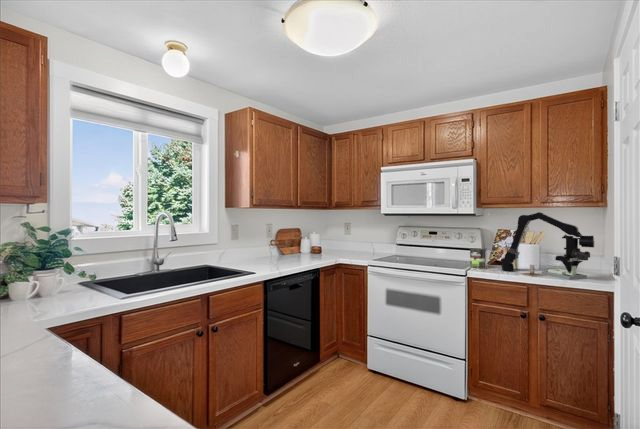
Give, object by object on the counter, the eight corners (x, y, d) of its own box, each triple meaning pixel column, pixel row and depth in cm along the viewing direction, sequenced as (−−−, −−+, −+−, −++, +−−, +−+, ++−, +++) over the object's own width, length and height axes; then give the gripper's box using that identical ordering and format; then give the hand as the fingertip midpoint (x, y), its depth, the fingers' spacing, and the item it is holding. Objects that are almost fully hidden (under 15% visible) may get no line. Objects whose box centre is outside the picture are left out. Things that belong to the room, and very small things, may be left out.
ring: (547, 272, 205) (547, 263, 205) (558, 271, 207) (558, 262, 207) (568, 275, 193) (568, 266, 192) (580, 275, 195) (580, 265, 195)
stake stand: (517, 275, 210) (517, 264, 210) (531, 274, 213) (531, 263, 213) (533, 278, 199) (533, 266, 199) (547, 277, 202) (547, 266, 202)
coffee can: (482, 270, 227) (482, 250, 227) (467, 268, 235) (467, 248, 235) (488, 268, 234) (488, 249, 234) (473, 266, 242) (473, 247, 242)
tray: (541, 276, 207) (541, 271, 207) (558, 274, 210) (558, 270, 210) (569, 281, 190) (569, 276, 190) (587, 280, 193) (587, 275, 193)
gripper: (573, 248, 185) (573, 275, 185) (597, 247, 190) (597, 274, 190) (554, 246, 196) (554, 272, 196) (578, 245, 201) (578, 270, 201)
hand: (571, 272), depth 195 cm, fingers closed on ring, 3 cm apart
